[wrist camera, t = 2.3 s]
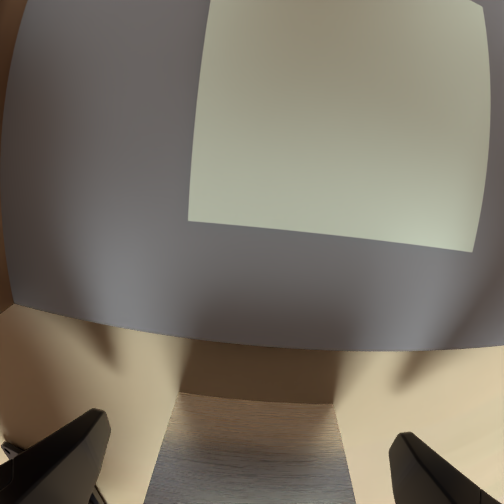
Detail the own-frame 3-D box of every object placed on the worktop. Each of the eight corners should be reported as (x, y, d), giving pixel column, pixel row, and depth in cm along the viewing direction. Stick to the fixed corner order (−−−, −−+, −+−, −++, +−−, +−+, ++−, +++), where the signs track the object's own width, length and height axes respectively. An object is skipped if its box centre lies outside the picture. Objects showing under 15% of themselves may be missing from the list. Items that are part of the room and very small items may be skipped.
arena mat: (506, 333, 8) (520, 345, 8) (5, 287, 8) (-12, 298, 8) (516, -49, 4) (528, -55, 3) (71, -103, 4) (62, -113, 3)
